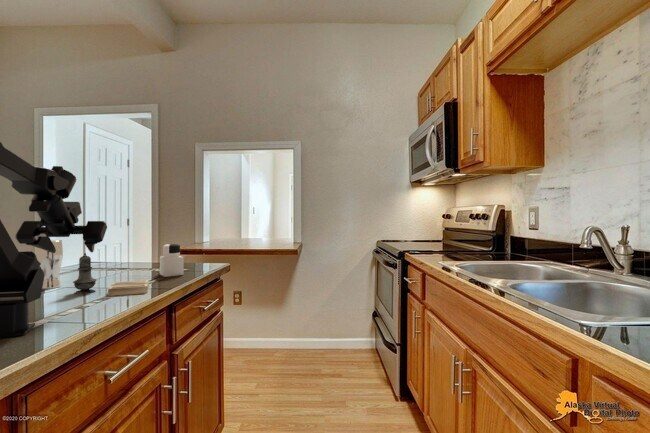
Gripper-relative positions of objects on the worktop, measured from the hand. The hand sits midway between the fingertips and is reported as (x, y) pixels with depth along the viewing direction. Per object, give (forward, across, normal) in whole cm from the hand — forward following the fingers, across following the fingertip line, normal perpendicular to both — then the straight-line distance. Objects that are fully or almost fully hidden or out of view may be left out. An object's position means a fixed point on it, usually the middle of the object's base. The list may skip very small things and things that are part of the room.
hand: (73, 251), depth 94 cm
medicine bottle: (+33, -20, -14) cm, 41 cm away
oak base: (+14, -12, +5) cm, 19 cm away
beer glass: (+22, +14, -3) cm, 27 cm away
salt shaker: (+15, 0, +4) cm, 15 cm away
